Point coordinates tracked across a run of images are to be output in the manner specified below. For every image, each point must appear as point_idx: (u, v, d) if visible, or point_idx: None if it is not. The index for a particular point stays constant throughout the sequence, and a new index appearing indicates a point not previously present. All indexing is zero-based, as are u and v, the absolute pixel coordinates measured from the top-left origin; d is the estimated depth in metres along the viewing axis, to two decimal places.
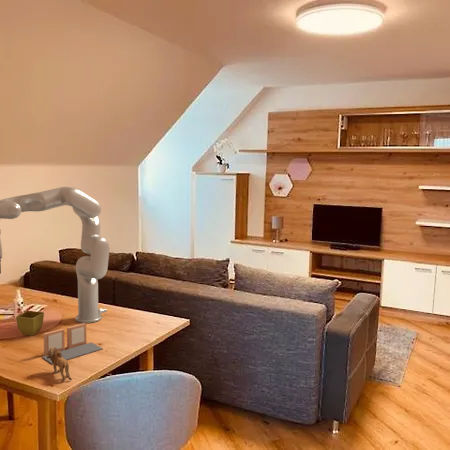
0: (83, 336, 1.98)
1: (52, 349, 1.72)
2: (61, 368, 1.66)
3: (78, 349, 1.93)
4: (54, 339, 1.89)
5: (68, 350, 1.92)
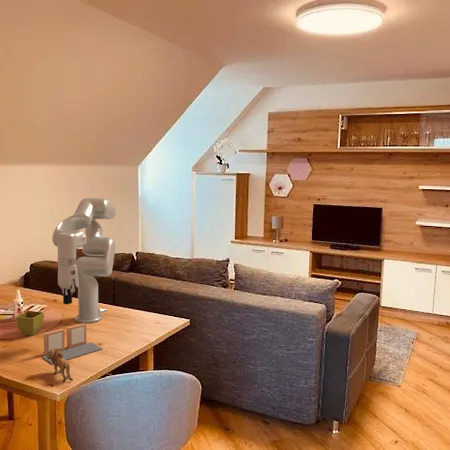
0: (83, 336, 1.98)
1: (53, 350, 1.72)
2: (62, 369, 1.66)
3: (78, 349, 1.93)
4: (54, 339, 1.89)
5: (68, 350, 1.92)
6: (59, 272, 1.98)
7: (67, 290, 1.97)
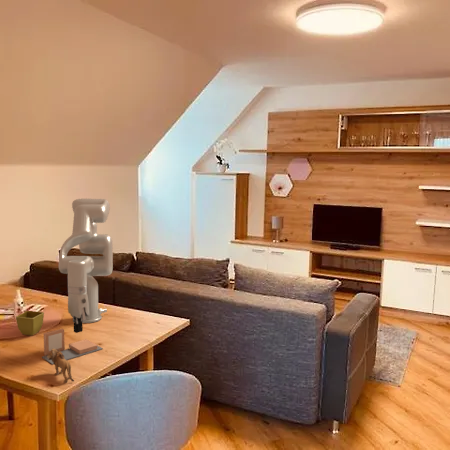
0: None
1: (54, 350, 1.71)
2: (63, 369, 1.65)
3: None
4: (54, 339, 1.89)
5: (68, 350, 1.92)
6: (69, 300, 1.94)
7: (77, 318, 1.93)
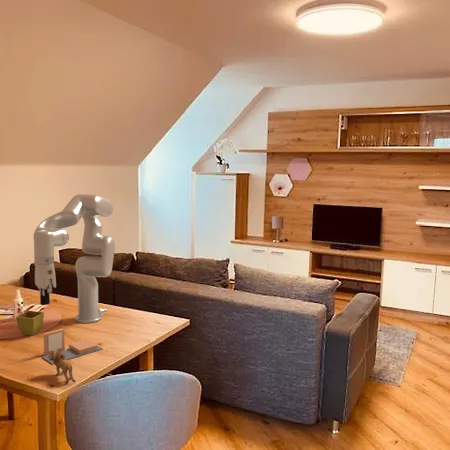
0: None
1: (55, 351, 1.70)
2: (65, 370, 1.64)
3: None
4: (54, 339, 1.89)
5: (68, 350, 1.92)
6: (36, 271, 1.90)
7: (44, 290, 1.89)
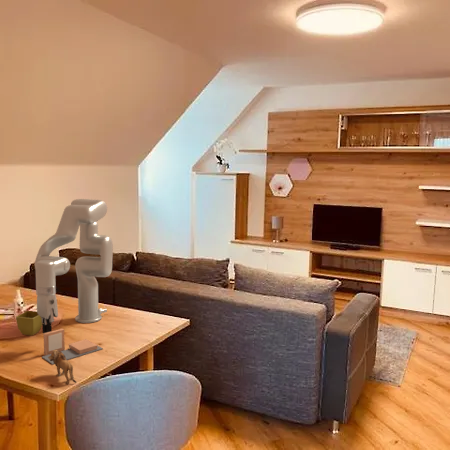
0: None
1: (55, 351, 1.70)
2: (65, 371, 1.64)
3: None
4: (54, 339, 1.89)
5: (68, 350, 1.92)
6: (38, 301, 1.92)
7: (46, 320, 1.91)
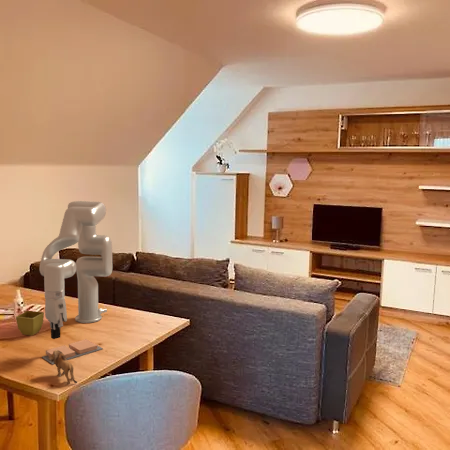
0: None
1: (56, 352, 1.70)
2: (66, 371, 1.64)
3: None
4: None
5: None
6: (46, 305, 1.86)
7: (55, 324, 1.85)
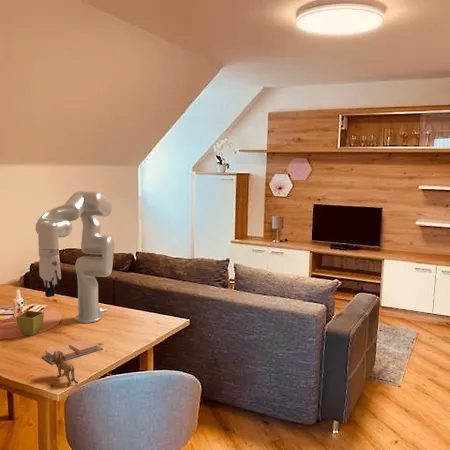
0: None
1: (56, 352, 1.69)
2: (67, 372, 1.63)
3: None
4: None
5: None
6: (40, 263, 1.88)
7: (49, 282, 1.87)
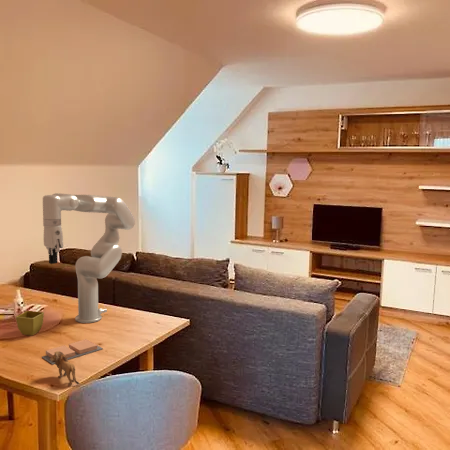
0: None
1: (57, 353, 1.69)
2: (68, 372, 1.63)
3: None
4: None
5: None
6: (45, 233, 2.07)
7: (52, 250, 2.06)
